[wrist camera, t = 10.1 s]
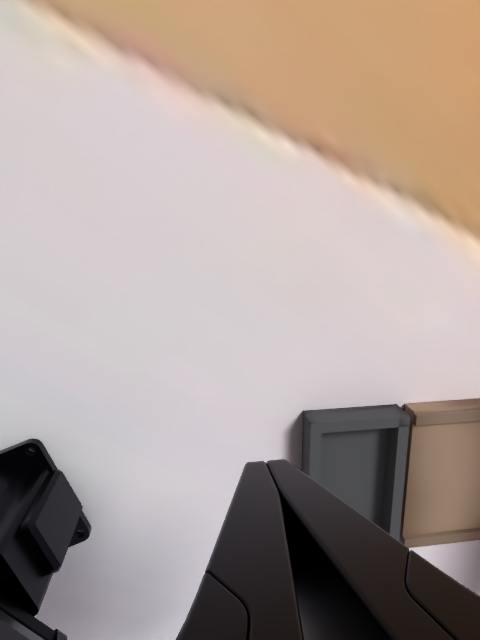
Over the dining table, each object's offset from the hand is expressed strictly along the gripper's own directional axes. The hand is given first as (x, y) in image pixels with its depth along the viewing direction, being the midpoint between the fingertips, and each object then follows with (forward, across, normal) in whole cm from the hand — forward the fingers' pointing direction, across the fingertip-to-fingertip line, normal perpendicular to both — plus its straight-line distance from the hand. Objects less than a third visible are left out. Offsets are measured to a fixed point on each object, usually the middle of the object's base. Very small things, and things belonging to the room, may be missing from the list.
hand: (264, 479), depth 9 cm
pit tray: (+13, -7, +10) cm, 18 cm away
